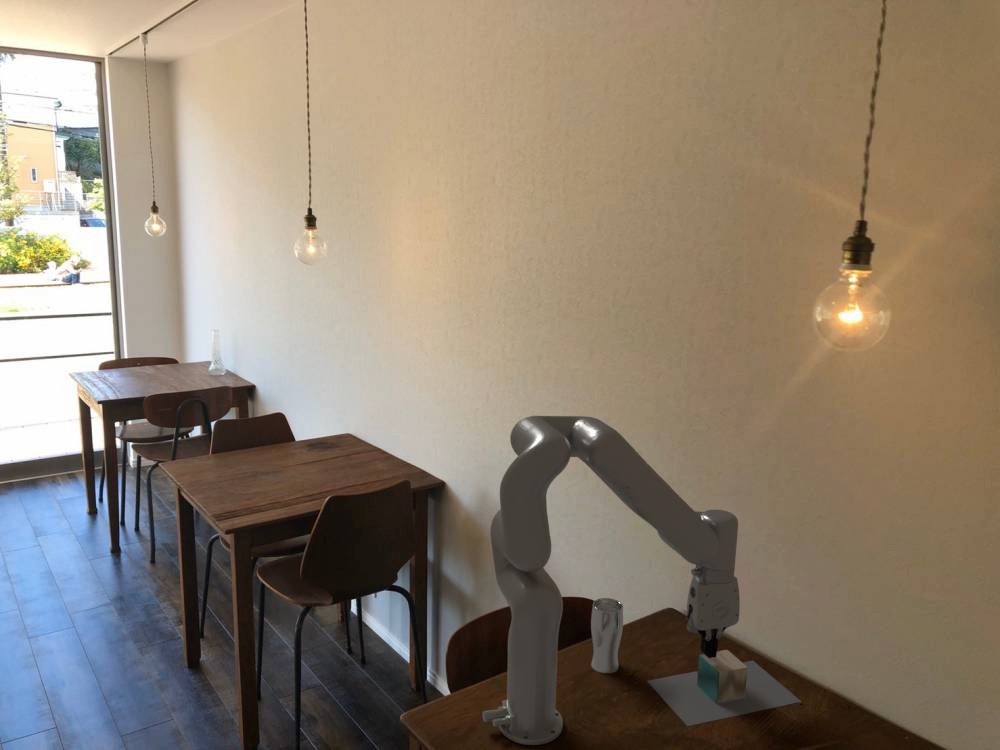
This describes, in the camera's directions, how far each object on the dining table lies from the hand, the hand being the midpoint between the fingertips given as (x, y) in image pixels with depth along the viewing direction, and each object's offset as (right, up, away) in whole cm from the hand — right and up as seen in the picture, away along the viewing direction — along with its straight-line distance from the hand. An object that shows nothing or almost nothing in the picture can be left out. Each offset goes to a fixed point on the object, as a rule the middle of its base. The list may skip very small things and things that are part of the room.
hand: (708, 654), depth 160 cm
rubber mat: (+4, -9, +3) cm, 11 cm away
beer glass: (-20, -7, +12) cm, 24 cm away
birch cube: (0, -6, +1) cm, 6 cm away
